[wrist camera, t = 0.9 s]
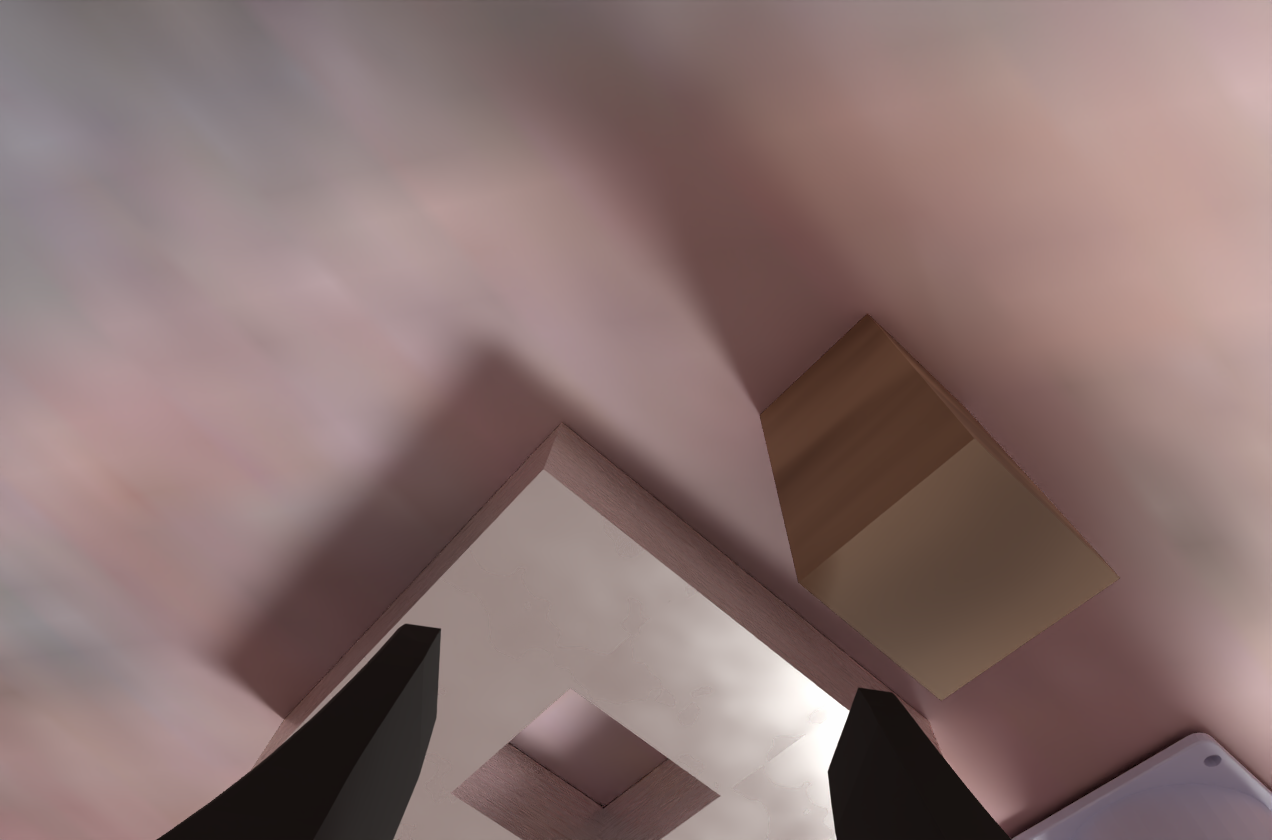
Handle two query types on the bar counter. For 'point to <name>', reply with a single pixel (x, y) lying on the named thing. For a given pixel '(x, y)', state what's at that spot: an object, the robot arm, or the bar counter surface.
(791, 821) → the collar
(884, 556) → the pin
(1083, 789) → the bar counter surface
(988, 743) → the bar counter surface
